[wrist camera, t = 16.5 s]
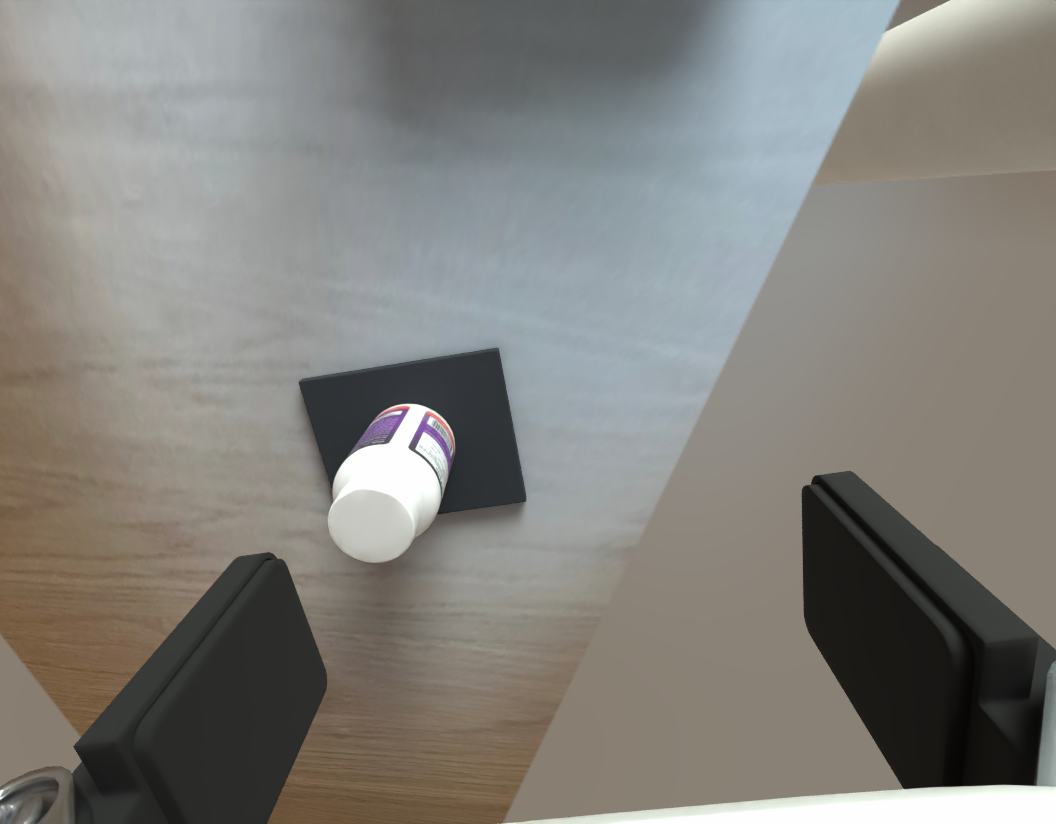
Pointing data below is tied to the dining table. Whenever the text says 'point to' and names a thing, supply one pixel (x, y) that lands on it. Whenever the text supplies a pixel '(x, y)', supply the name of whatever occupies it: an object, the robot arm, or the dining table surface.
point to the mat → (448, 389)
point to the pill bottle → (391, 483)
